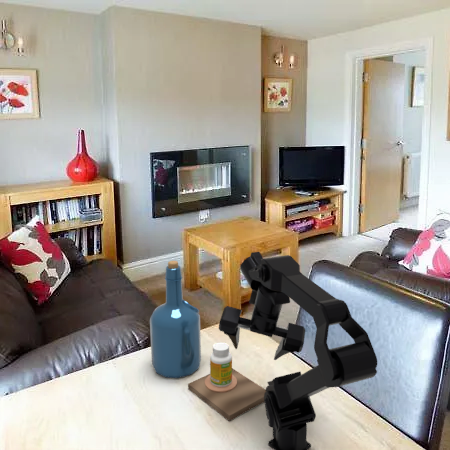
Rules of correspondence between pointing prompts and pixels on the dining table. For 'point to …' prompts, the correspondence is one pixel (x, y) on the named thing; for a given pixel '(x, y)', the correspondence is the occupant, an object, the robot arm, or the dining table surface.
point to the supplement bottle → (221, 365)
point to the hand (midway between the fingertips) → (255, 352)
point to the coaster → (220, 389)
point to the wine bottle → (175, 331)
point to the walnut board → (230, 396)
